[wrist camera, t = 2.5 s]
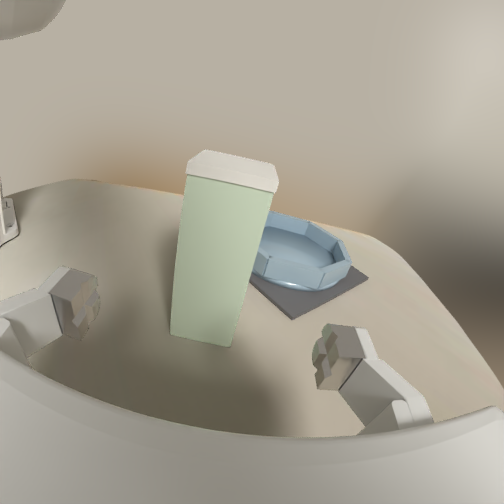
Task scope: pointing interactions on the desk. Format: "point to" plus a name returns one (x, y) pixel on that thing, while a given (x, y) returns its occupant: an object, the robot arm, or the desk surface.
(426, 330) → the desk surface
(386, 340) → the desk surface
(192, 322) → the tea tin
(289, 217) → the bowl
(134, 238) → the desk surface
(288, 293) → the mat
